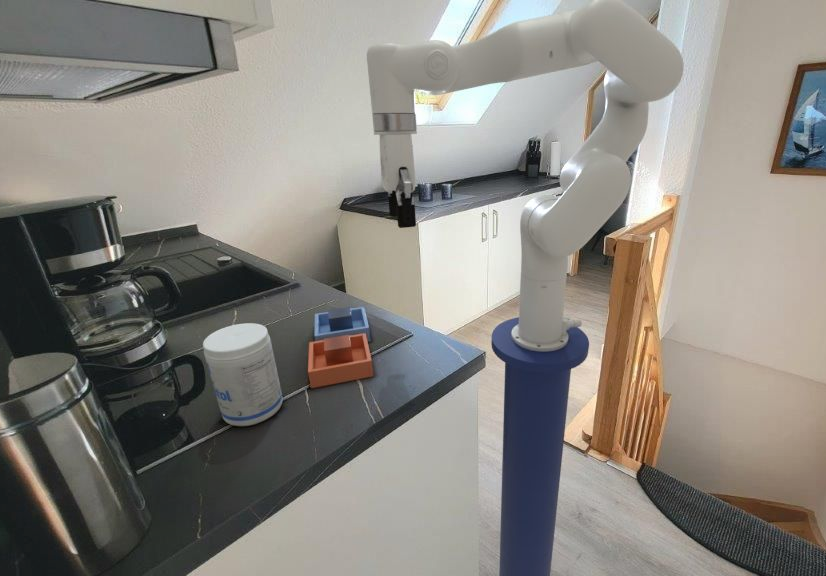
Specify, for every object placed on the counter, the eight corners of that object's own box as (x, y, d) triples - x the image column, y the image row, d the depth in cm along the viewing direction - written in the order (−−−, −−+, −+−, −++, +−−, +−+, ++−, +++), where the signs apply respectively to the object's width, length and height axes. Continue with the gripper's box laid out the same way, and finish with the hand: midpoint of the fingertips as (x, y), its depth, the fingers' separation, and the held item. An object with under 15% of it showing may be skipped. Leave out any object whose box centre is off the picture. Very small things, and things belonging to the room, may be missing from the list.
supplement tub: (211, 418, 68) (186, 342, 63) (259, 387, 76) (241, 317, 71) (249, 436, 64) (226, 357, 59) (296, 401, 72) (280, 329, 66)
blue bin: (365, 319, 102) (363, 306, 100) (370, 341, 92) (369, 327, 90) (317, 327, 98) (314, 313, 97) (316, 350, 88) (314, 336, 87)
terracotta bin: (367, 347, 89) (365, 333, 88) (373, 376, 79) (371, 360, 78) (311, 357, 86) (309, 342, 85) (310, 388, 76) (307, 372, 74)
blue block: (352, 325, 98) (350, 306, 96) (354, 334, 93) (351, 315, 91) (331, 328, 96) (328, 309, 94) (331, 338, 92) (328, 318, 90)
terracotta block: (352, 355, 85) (349, 334, 83) (354, 368, 81) (351, 346, 79) (327, 359, 84) (323, 338, 82) (327, 372, 79) (324, 350, 77)
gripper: (368, 125, 78) (376, 214, 84) (380, 126, 62) (389, 234, 69) (406, 124, 80) (412, 211, 86) (427, 125, 65) (432, 229, 71)
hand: (402, 221), depth 78 cm, fingers open, 9 cm apart
